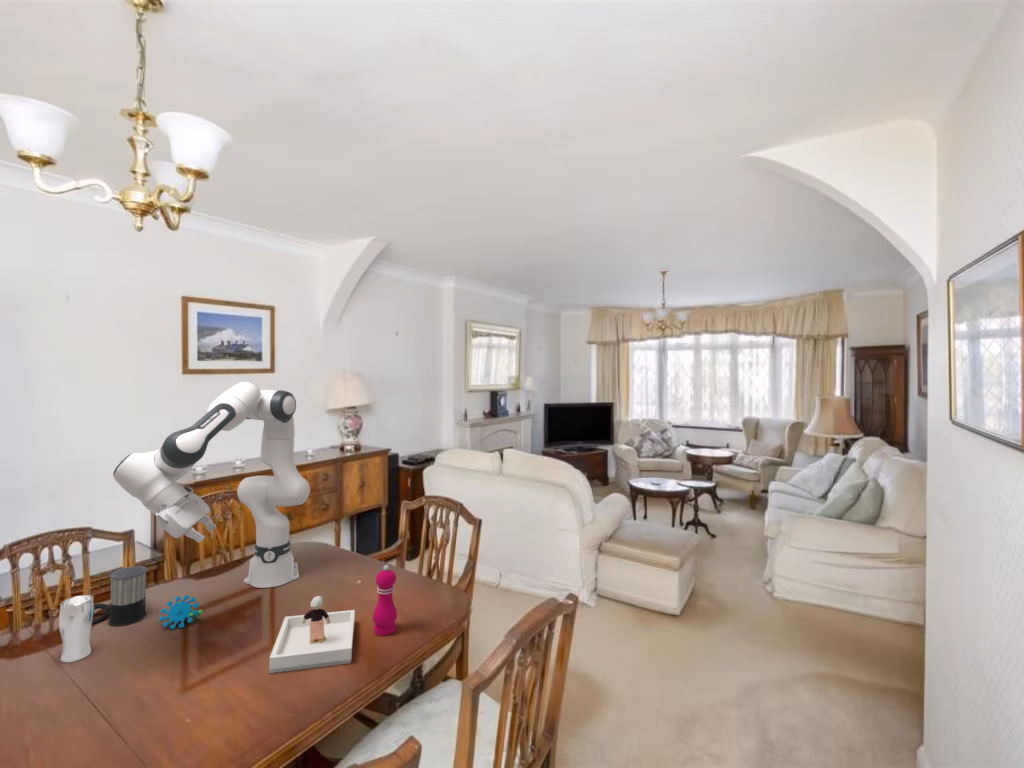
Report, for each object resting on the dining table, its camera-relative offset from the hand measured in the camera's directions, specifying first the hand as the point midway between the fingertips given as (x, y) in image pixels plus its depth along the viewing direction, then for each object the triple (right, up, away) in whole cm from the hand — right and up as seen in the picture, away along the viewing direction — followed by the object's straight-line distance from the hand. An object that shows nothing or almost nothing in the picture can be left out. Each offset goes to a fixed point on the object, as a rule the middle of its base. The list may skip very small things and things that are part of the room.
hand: (208, 534), depth 135 cm
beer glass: (-31, -31, -7) cm, 44 cm away
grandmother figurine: (+30, -31, +2) cm, 43 cm away
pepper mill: (+47, -33, +10) cm, 58 cm away
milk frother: (-37, -30, +12) cm, 49 cm away
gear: (-15, -31, +11) cm, 36 cm away
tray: (+30, -32, +1) cm, 44 cm away
